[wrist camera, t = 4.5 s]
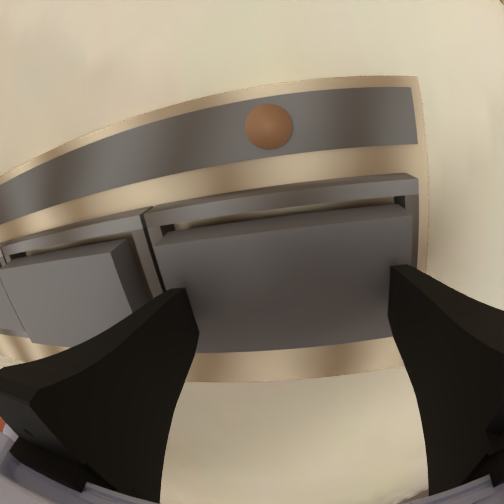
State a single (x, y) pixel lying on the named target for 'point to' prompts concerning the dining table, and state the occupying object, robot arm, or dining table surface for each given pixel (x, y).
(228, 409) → the dining table surface
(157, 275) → the switch unit
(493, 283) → the dining table surface
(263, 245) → the key
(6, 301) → the key
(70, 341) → the key middle
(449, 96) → the dining table surface
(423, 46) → the dining table surface
